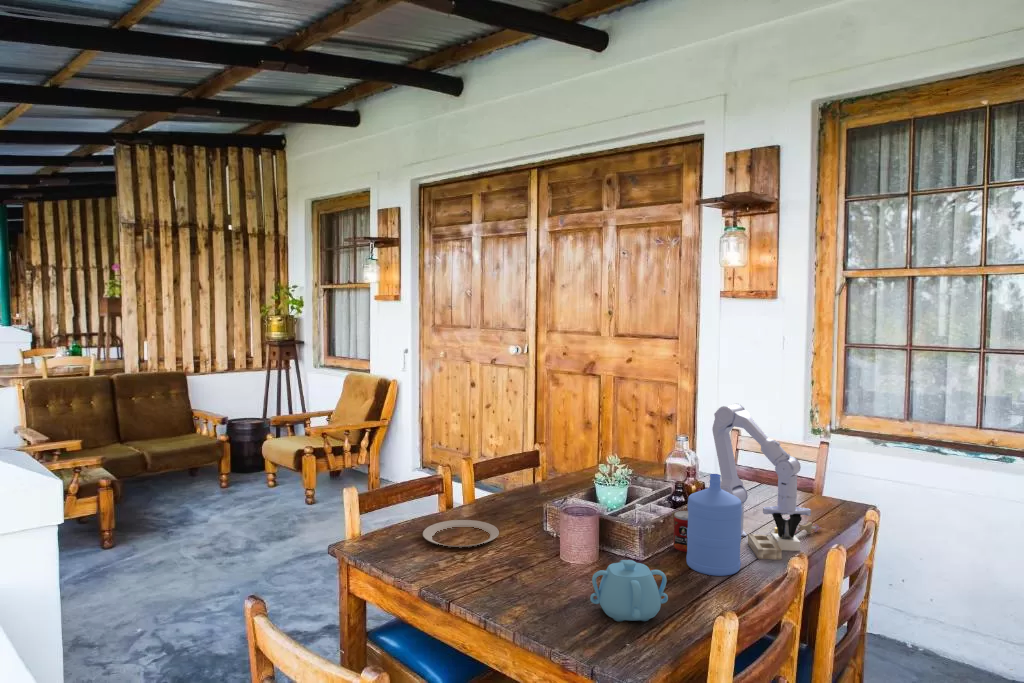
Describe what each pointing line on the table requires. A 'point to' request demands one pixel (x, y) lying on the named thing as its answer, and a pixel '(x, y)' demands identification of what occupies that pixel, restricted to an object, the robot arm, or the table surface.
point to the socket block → (787, 543)
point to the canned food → (680, 530)
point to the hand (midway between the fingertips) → (785, 536)
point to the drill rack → (764, 546)
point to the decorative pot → (629, 591)
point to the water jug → (714, 530)
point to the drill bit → (786, 529)
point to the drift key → (776, 530)
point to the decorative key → (808, 527)
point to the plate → (460, 523)
